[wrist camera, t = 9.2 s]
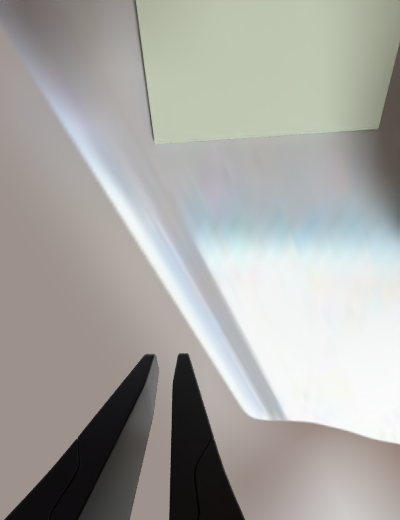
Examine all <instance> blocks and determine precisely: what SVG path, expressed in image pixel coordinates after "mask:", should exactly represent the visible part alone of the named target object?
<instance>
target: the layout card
mask: <svg viewBox="0 0 400 520" xmlns="http://www.w3.org/2000/svg"><path fill="white" fill-rule="evenodd" d="M136 6H137V13H138V21H139V28H140V36H141V43H142V51H143V58H144V66H145V74H146V81H147V89H148V96H149V104H150V111H151V119H152V126H153V134H154V142H155V144H165V143H180V142H194V141H209V140H224V139H239V138H253V137H268V136H283V135H297V134H312V133H327V132H342V131H356V130H371V129H378V127H379V124H380V120H381V116H382V112H383V108H384V104H385V100H386V96H387V92H388V88H389V84H390V80H391V76H392V72H393V68H394V64H395V60H396V56H397V52H398V48H399V44H400V0H136Z"/></svg>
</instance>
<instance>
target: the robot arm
mask: <svg viewBox="0 0 400 520" xmlns="http://www.w3.org/2000/svg"><path fill="white" fill-rule="evenodd" d="M158 374H159V367H158V363H157V358H156V355H155V354H146V355H144V356H143V358H142V359H141V360H140V361H139V363H138V364H137V365H136V366H135V368H134V369H133V370H132V371H131V372H130V374H129V375H128V376H127V377H126V379H125V380H124V381H123V382H122V383H121V385H120V386H119V387H118V388H117V390H116V391H115V392H114V394H113V395H112V396H111V397H110V398H109V399H108V401H107V402H106V403H105V404H104V406H103V407H102V408H101V409H100V411H99V412H98V413H97V414H96V415H95V417H94V418H93V419H92V421H91V422H90V423H89V424H88V425H87V427H86V428H85V429H84V430H83V431H82V433H81V434H80V435H79V436H78V439H76V440H75V441H74V442H73V444H72V445H71V446H70V448H68V450H67V451H66V452H65V453H64V454H63V456H62V457H61V458H60V459H59V461H58V462H57V463H56V464H55V465H54V466H53V467H52V469H51V470H50V471H49V472H48V473H47V474H46V475H45V476H44V478H43V479H42V480H41V481H40V482H39V483H38V484H37V485H36V486H35V487H34V488H33V490H32V491H31V492H30V493H29V494H28V495H27V496H26V497H25V498H24V499H23V500H22V501H21V503H20V504H19V505H18V506H17V507H16V508H15V509H14V510H13V511H12V512H11V513H10V514H9V515H8V516H7V517H6V518H5V519H4V520H130V516H131V511H132V507H133V503H134V498H135V494H136V489H137V485H138V481H139V476H140V472H141V467H142V463H143V459H144V454H145V450H146V445H147V441H148V437H149V432H150V428H151V424H152V419H153V414H154V406H155V398H156V391H157V383H158ZM171 435H172V437H171V474H170V475H171V476H170V513H169V515H170V516H169V520H245V518H244V516H243V513H242V511H241V509H240V506H239V504H238V502H237V499H236V497H235V495H234V492H233V490H232V487H231V485H230V482H229V480H228V477H227V475H226V472H225V470H224V467H223V464H222V461H221V458H220V455H219V452H218V449H217V446H216V442H215V440H214V436H213V433H212V430H211V426H210V423H209V419H208V416H207V413H206V410H205V407H204V403H203V400H202V397H201V393H200V390H199V387H198V384H197V380H196V377H195V374H194V370H193V367H192V364H191V360H190V357H189V354H188V353H185V354H184V353H180V354H179V355H178V358H177V363H176V368H175V374H174V380H173V392H172V432H171Z"/></svg>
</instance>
